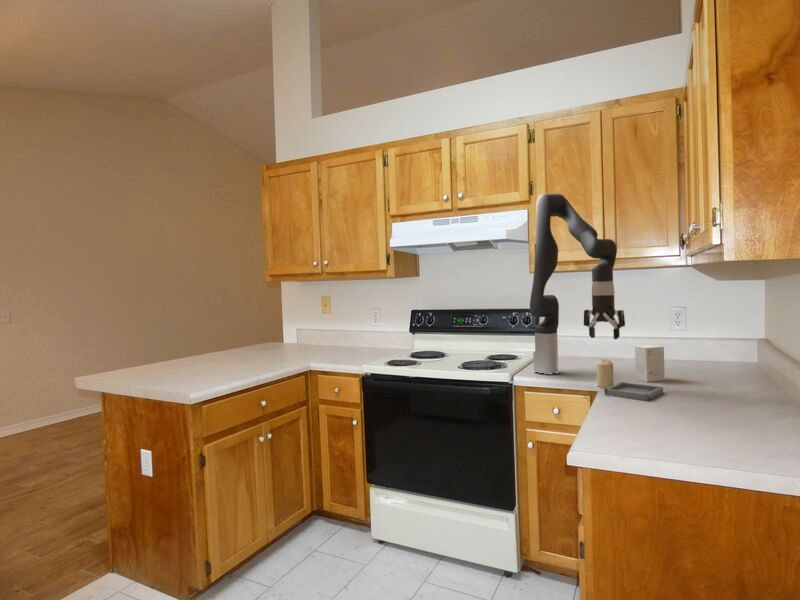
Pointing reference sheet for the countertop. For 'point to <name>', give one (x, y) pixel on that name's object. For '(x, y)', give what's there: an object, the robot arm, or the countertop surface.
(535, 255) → the robot arm
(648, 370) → the small box
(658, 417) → the countertop surface
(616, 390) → the rest tray
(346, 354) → the countertop surface
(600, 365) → the candle
